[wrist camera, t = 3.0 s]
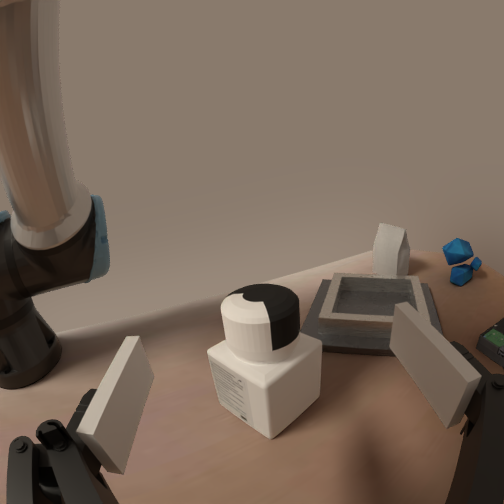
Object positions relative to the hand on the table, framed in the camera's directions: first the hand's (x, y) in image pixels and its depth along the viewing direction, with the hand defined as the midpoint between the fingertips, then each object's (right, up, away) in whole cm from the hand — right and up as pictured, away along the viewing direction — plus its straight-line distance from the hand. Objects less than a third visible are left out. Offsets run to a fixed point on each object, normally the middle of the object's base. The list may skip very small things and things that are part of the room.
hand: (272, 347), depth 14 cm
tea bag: (+27, 0, +40) cm, 48 cm away
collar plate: (+18, -5, +28) cm, 33 cm away
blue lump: (+40, -1, +33) cm, 51 cm away
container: (+1, -11, +14) cm, 18 cm away
